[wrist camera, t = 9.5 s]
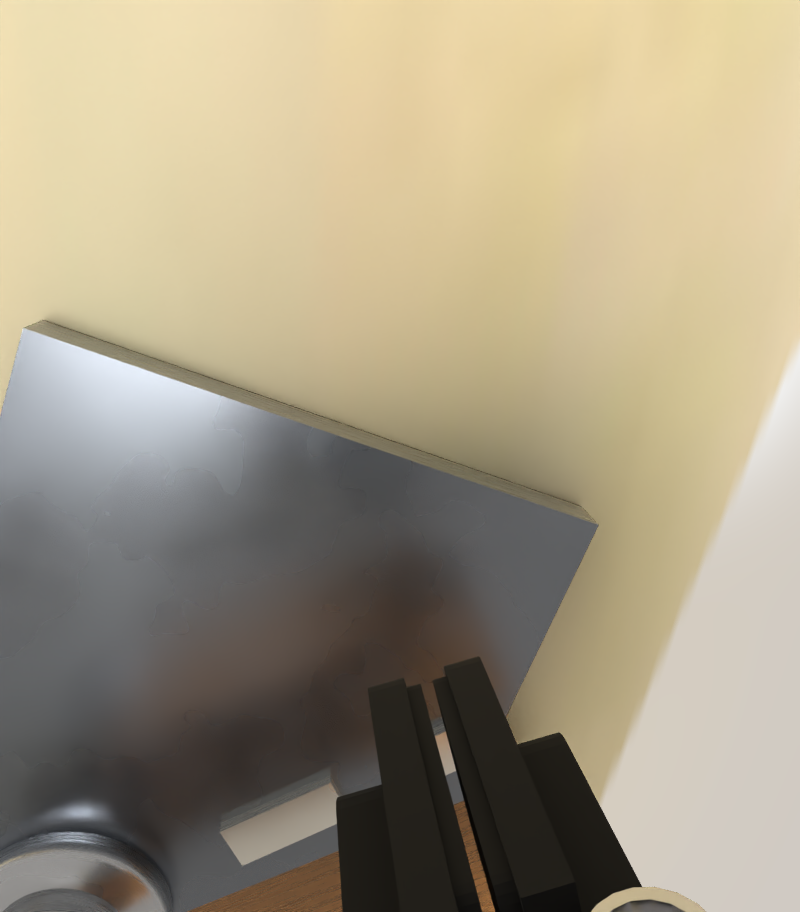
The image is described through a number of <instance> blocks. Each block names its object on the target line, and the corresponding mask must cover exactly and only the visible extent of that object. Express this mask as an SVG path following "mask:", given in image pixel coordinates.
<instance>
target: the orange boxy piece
mask: <svg viewBox="0 0 800 912" xmlns="http://www.w3.org/2000/svg"><path fill="white" fill-rule="evenodd" d="M454 809H455V812H456V816H457V820H458V823H459V827H460V831H461V834H462V838H463V842H464V845H465V849H466V853H467V857H468V860H469V864H470V868H471V872H472V875H473V879H474V883H475V886H476V890H477V894H478V898H479V901H480V905H481V909H482V912H495V910H494V906H493V903H492V899H491V896H490V892H489V889H488V885H487V882H486V878H485V875H484V871H483V868H482V864H481V861H480V857H479V854H478V850H477V847H476V843H475V840H474V836H473V832H472V829H471V825H470V821H469V817H468V814H467V810H466V806H465V802H464V801H461V802H459V803H456V804H454ZM187 912H342V897H341V881H340V865H339V851H337V852H334V853H332V854H329V855H327V856H324V857H322V858H319V859H317V860H314V861H312V862H309V863H307V864H304V865H302V866H299V867H297V868H294V869H292V870H290V871H287V872H285V873H282V874H280V875H277V876H275V877H272V878H270V879H267V880H265V881H262V882H260V883H257V884H255V885H252V886H250V887H247V888H245V889H242V890H240V891H237V892H235V893H232V894H230V895H227V896H225V897H222V898H220V899H217V900H215V901H212V902H210V903H207V904H205V905H202V906H200V907H197V908H195V909H192V910H190V911H187Z"/></svg>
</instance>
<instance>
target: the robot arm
mask: <svg viewBox="0 0 800 912" xmlns="http://www.w3.org/2000/svg"><path fill="white" fill-rule="evenodd" d="M444 671H445V675H446V676H445V677H441V678H438V679H434V680H432V682H433V686H434V689H435V693H436V697H437V701H438V704H439V708H440V712H441V716H442V720H443V723H444V727H445V731H446V735H447V738H448V742H449V746H450V750H451V753H452V757H453V761H454V765H455V769H456V772H457V776H458V780H459V784H460V787H461V791H462V795H463V799H464V802H465V806H466V810H467V814H468V817H469V821H470V825H471V829H472V832H473V836H474V840H475V843H476V847H477V850H478V854H479V857H480V861H481V864H482V868H483V871H484V875H485V878H486V882H487V885H488V889H489V892H490V896H491V899H492V903H493V906H494V910H495V912H706V911H705V910H704V909H703V908H702V907H701V906H700V905H698V904H697V903H695V902H693V901H692V900H690V899H688V898H686V897H684V896H682V895H680V894H679V893H677V892H672V891H669V890H664V889H660V888H656V887H642V886H641V884H640V882H639V880H638V878H637V876H636V874H635V872H634V870H633V869H632V867H631V865H630V863H629V861H628V859H627V857H626V855H625V853H624V852H623V849H622V848H621V846H620V844H619V842H618V840H617V838H616V836H615V834H614V832H613V830H612V828H611V826H610V824H609V823H608V821H607V819H606V817H605V815H604V813H603V811H602V809H601V807H600V805H599V803H598V801H597V800H596V798H595V796H594V794H593V792H592V790H591V788H590V786H589V784H588V782H587V780H586V778H585V776H584V775H583V773H582V771H581V769H580V767H579V765H578V763H577V761H576V759H575V757H574V755H573V753H572V752H571V750H570V748H569V746H568V744H567V742H566V740H565V739H564V737H563V735H562V734H560V733H555V734H552V735H548V736H545V737H542V738H538V739H535V740H531V741H528V742H525V743H521V744H518V745H517V743H516V741H515V738H514V736H513V734H512V731H511V729H510V727H509V724H508V722H507V720H506V717H505V715H504V712H503V710H502V708H501V705H500V703H499V701H498V698H497V696H496V694H495V691H494V689H493V686H492V684H491V682H490V679H489V677H488V675H487V672H486V670H485V667H484V665H483V663H482V660H481V658H480V657H479V656H477V657H474V658H470V659H467V660H463V661H460V662H456V663H453V664H449V665H446V666H444ZM368 695H369V702H370V709H371V716H372V722H373V729H374V736H375V743H376V749H377V756H378V763H379V770H380V776H381V783H382V784H381V785H378V786H374V787H371V788H367V789H364V790H361V791H357V792H354V793H350V794H347V795H344V796H340V797H337V800H336V817H337V833H338V849H339V865H340V881H341V897H342V912H482V909H481V905H480V901H479V898H478V894H477V890H476V886H475V883H474V879H473V875H472V872H471V868H470V864H469V860H468V857H467V853H466V849H465V845H464V842H463V838H462V834H461V831H460V827H459V823H458V820H457V816H456V812H455V809H454V805H453V801H452V798H451V794H450V790H449V786H448V783H447V779H446V775H445V772H444V768H443V764H442V761H441V757H440V753H439V750H438V746H437V742H436V739H435V735H434V731H433V728H432V724H431V720H430V716H429V713H428V709H427V705H426V702H425V698H424V694H423V691H422V687H421V684H417V685H414V686H410V687H406V683H405V680H404V678H400V679H397V680H393V681H390V682H386V683H383V684H379V685H376V686H372V687H369V688H368Z"/></svg>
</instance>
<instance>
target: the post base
mask: <svg viewBox="0 0 800 912" xmlns="http://www.w3.org/2000/svg"><path fill="white" fill-rule="evenodd" d="M597 527H598V524H597V523H596V521H595V520H594V519H593V518H592V517H591V516H590V515H589V514H588V513H587V512H586V511H585V510H584V509H583V508H582V507H581V506H579V505H576V504H573V503H570V502H567V501H564V500H561V499H559V498H556V497H553V496H550V495H547V494H544V493H541V492H538V491H535V490H533V489H530V488H527V487H524V486H521V485H518V484H515V483H512V482H509V481H507V480H504V479H501V478H498V477H495V476H492V475H489V474H486V473H483V472H481V471H478V470H475V469H472V468H469V467H466V466H463V465H460V464H457V463H455V462H452V461H449V460H446V459H443V458H440V457H437V456H434V455H431V454H429V453H426V452H423V451H420V450H417V449H414V448H411V447H408V446H405V445H403V444H400V443H397V442H394V441H391V440H388V439H385V438H382V437H379V436H376V435H374V434H371V433H368V432H365V431H362V430H359V429H356V428H353V427H350V426H348V425H345V424H342V423H339V422H336V421H333V420H330V419H327V418H324V417H322V416H319V415H316V414H313V413H310V412H307V411H304V410H301V409H298V408H296V407H293V406H290V405H287V404H284V403H281V402H278V401H275V400H272V399H270V398H267V397H264V396H261V395H258V394H255V393H252V392H249V391H246V390H244V389H241V388H238V387H235V386H232V385H229V384H226V383H223V382H220V381H218V380H215V379H212V378H209V377H206V376H203V375H200V374H197V373H194V372H191V371H189V370H186V369H183V368H180V367H177V366H174V365H171V364H168V363H165V362H163V361H160V360H157V359H154V358H151V357H148V356H145V355H142V354H139V353H137V352H134V351H131V350H128V349H125V348H122V347H119V346H116V345H113V344H111V343H108V342H105V341H102V340H99V339H96V338H93V337H90V336H87V335H85V334H82V333H79V332H76V331H73V330H70V329H67V328H64V327H61V326H59V325H56V324H53V323H50V322H47V321H44V320H43V321H40V322H37V323H35V324H32V325H30V326H27V327H25V328H23V331H22V334H21V338H20V342H19V346H18V350H17V354H16V357H15V361H14V365H13V369H12V373H11V377H10V381H9V384H8V388H7V392H6V396H5V400H4V404H3V407H2V411H1V415H0V912H187V911H190V910H192V909H195V908H197V907H200V906H202V905H205V904H207V903H210V902H212V901H215V900H217V899H220V898H222V897H225V896H227V895H230V894H232V893H235V892H237V891H240V890H242V889H245V888H247V887H250V886H252V885H255V884H257V883H260V882H262V881H265V880H267V879H270V878H272V877H275V876H277V875H280V874H282V873H285V872H287V871H290V870H292V869H294V868H297V867H299V866H302V865H304V864H307V863H309V862H312V861H314V860H317V859H319V858H322V857H324V856H327V855H329V854H332V853H334V852H337V851H339V849H338V833H337V817H336V800H337V797H340V796H344V795H347V794H350V793H354V792H357V791H361V790H364V789H367V788H371V787H374V786H378V785H381V784H382V783H381V776H380V770H379V763H378V756H377V749H376V743H375V736H374V729H373V722H372V716H371V709H370V702H369V695H368V688H369V687H372V686H376V685H379V684H383V683H386V682H390V681H393V680H397V679H400V678H404V680H405V683H406V687H410V686H414V685H417V684H421V687H422V691H423V694H424V698H425V702H426V705H427V709H428V713H429V716H430V720H431V724H432V728H433V731H434V735H435V739H436V742H437V746H438V750H439V753H440V757H441V761H442V764H443V768H444V772H445V775H446V779H447V783H448V786H449V790H450V794H451V798H452V801H453V805H454V804H456V803H459V802H461V801H464V799H463V795H462V791H461V787H460V784H459V780H458V776H457V772H456V769H455V765H454V761H453V757H452V753H451V750H450V746H449V742H448V738H447V735H446V731H445V727H444V723H443V720H442V716H441V712H440V708H439V704H438V701H437V697H436V693H435V689H434V686H433V682H432V680H434V679H438V678H441V677H445V676H446V675H445V671H444V666H446V665H449V664H453V663H456V662H460V661H463V660H467V659H470V658H474V657H477V656H479V657H480V658H481V660H482V663H483V665H484V667H485V670H486V672H487V675H488V677H489V679H490V682H491V684H492V686H493V689H494V691H495V694H496V696H497V698H498V701H499V703H500V705H501V708H502V710H503V712H504V715H505V717H506V715H507V713H508V711H509V709H510V707H511V705H512V703H513V701H514V699H515V697H516V695H517V693H518V690H519V688H520V686H521V684H522V682H523V680H524V678H525V676H526V674H527V672H528V670H529V668H530V666H531V664H532V662H533V659H534V657H535V655H536V653H537V651H538V649H539V647H540V645H541V643H542V641H543V639H544V637H545V635H546V633H547V631H548V628H549V626H550V624H551V622H552V620H553V618H554V616H555V614H556V612H557V610H558V608H559V606H560V604H561V602H562V600H563V597H564V595H565V593H566V591H567V589H568V587H569V585H570V583H571V581H572V579H573V577H574V575H575V573H576V571H577V569H578V566H579V564H580V562H581V560H582V558H583V556H584V554H585V552H586V550H587V548H588V546H589V544H590V542H591V540H592V538H593V535H594V533H595V531H596V529H597Z"/></svg>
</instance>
